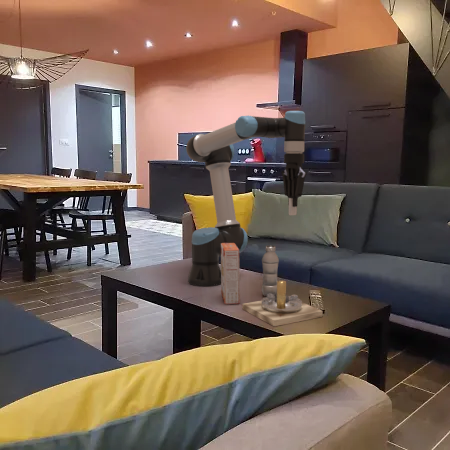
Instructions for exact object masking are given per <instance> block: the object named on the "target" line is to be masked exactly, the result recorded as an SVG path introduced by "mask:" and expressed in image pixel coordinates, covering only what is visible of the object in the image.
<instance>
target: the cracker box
mask: <svg viewBox="0 0 450 450" xmlns="http://www.w3.org/2000/svg"><path fill="white" fill-rule="evenodd" d="M220 270H221V284H220V285H221V286H220V288H221V290H220V291H221V296H222V300H223V302H224V305H239V304H240V253H239V249H238V247H237V246H236V244H235V243H221V256H220Z"/></svg>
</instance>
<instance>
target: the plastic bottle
mask: <svg viewBox="0 0 450 450" xmlns="http://www.w3.org/2000/svg"><path fill="white" fill-rule="evenodd" d="M278 256H279V255H277V253H276V245H271V244H270V245H269V244H268V245H265V253H264V254H263V255H262V257H261V258H262V259H261V263H262V273H263V274H262V284H261V285H262V286H261V293H262V295H263V296H264V297H267V294H269V293H271V294H274V295H277V281H278V267H279V262H280V260H279V257H278Z"/></svg>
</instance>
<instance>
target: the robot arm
mask: <svg viewBox="0 0 450 450" xmlns="http://www.w3.org/2000/svg"><path fill="white" fill-rule="evenodd" d="M305 131H306V113H305V112H304V111H302V110H288V111H286V112H285V114H284V116H283V117H267V116H254V115H240V116H239V117H238V118H237V119H236V120H235V122H232V123H230V124H228V125H226V126H223V127H221V128H218V129H216V130H213V131H211V132H209V133H206V134H204V133H199V134H196V135H194V136H192V137H191V138H189V140H188V141H187V143H186V146H185V147H186V149H185V151H186V154H187V156H188V157H189V158H190V159H191V160H192V161H194V162H198V163H205V169H206V170H208V171H209V175H210V176H209V177H210V183H211V187H212V188H211V189H212V190H211V191H212V195H213V202H214V203H213V204H214V209H215V214H216V224H215V226H214V227H211V226H210V227H209V226H208V227H203V228H198V229H196V230H194V231H193V232H192V234H191V267H190V270H189V274H188V278H187V279H188V281H187V283H188V282H189V283H190V285H192V286H196V287H214V286H218V285H221V266H220V263H219V261H220V260H219V259H220V257H221V243H235V244H236V246H237V247H238V249H239V254H241V253H242V252H244V251H245V249H246V247H247V245H248V239H249V238H248V233H247V232H246V230H245V229H244V228H243V227H241V223H240V222H239V221H238V220H237V219H236V218H237V217H236V210H235V204H234V199H233V198H234V197H233V192H232V191H233V190H232V184H231V177H230V172H229V168H230V166H231V165H232V160H233V159H234V155H235V147H234V144H236V143H240V142H242V141H245V140H248V139H251V138H266V139H274V138H276V139H277V138H278V139H280V138H284V147H283V149H284V150H283V152H284V154H283V163H284V164H285V168H284V169H285V170H281V176H282V183H283V191H284V196H286V197H287V199H288V204H287V205H288V215H289V216H297V214H298V212H297V211H298V210H297V209H298V202H299V201H298V198H300V197H302V195H303V190H304V186H305V185H304V183H305V178H306V176H307V174H308V173H307V172H306V171H304V170H303V164H304V163H305V154H304V152H305V133H306V132H305Z"/></svg>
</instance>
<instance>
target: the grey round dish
mask: <svg viewBox="0 0 450 450" xmlns="http://www.w3.org/2000/svg"><path fill="white" fill-rule="evenodd" d="M298 296H299V295H298V294H291V295H287V281H286V280H277V295H274V294H271V293H269V294H267V296H264V297H262V298H261V301H262V308H263V309H265V310H267V311H271V312H276V313H292V312H297V311H299V310H301V309H302V303H303V301H302V300H301V298H299V297H298Z"/></svg>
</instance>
